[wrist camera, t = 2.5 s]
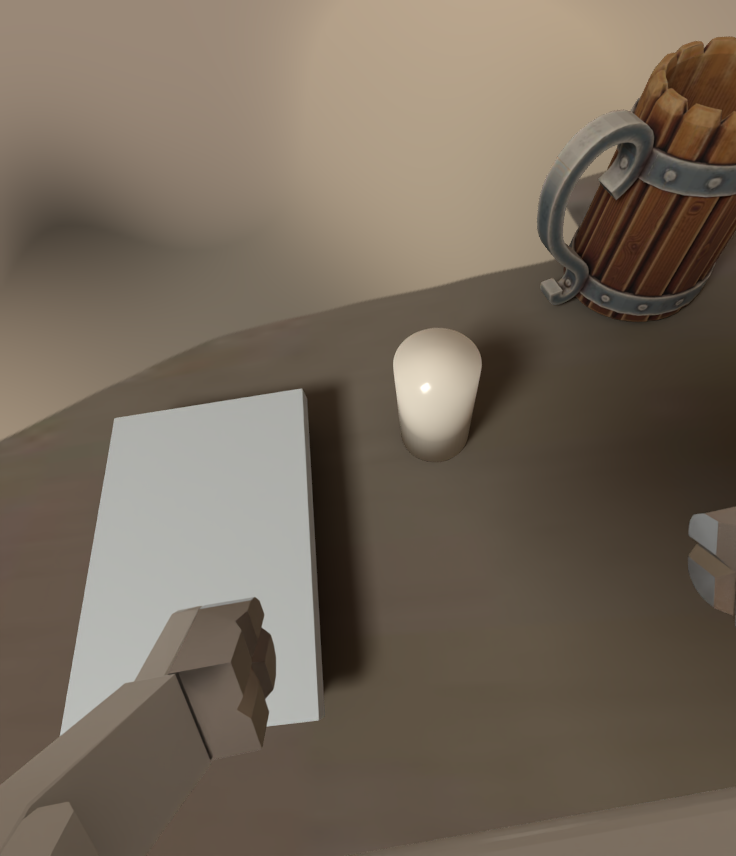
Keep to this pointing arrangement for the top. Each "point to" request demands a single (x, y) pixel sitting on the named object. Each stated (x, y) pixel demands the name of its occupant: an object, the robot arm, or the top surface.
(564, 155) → the mug
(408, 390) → the white rounded cylinder
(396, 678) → the top surface
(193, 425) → the shelf
